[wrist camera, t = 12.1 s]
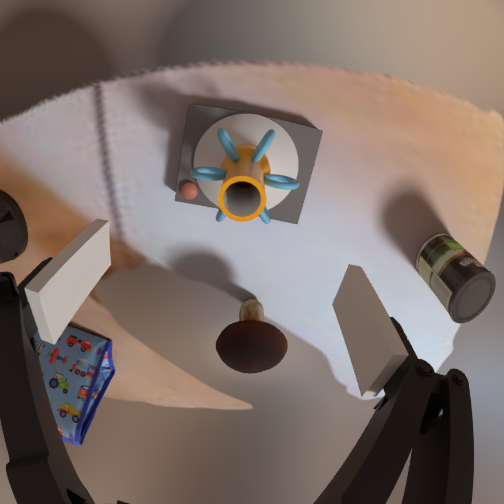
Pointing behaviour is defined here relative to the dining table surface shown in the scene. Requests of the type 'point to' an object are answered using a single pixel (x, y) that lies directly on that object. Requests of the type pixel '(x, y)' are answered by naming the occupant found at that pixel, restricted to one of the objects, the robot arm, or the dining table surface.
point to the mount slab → (246, 132)
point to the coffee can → (455, 277)
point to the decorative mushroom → (251, 341)
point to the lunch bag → (75, 378)
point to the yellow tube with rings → (244, 179)
